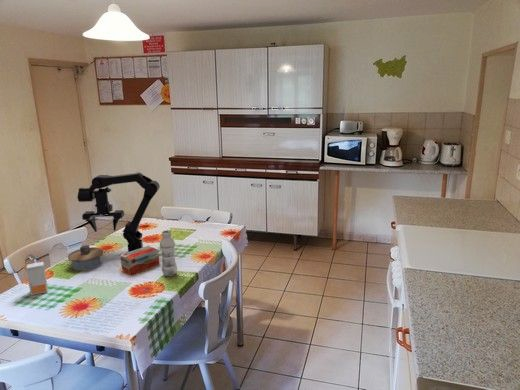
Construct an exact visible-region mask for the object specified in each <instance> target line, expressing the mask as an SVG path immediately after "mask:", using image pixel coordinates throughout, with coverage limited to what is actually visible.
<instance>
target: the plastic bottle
mask: <svg viewBox="0 0 520 390" xmlns="http://www.w3.org/2000/svg"><path fill="white" fill-rule="evenodd" d="M161 236H162V238H161V240H160V242H159V247H160V251H161V258H162V259H161V260H162V265H161V272H162V275H163V276H165V277H172V276H175V275H176V274H177V272H178V265H177V263H176V258H175V248H176V242H175V239H174V238H173V237H172V231H171V230H164V231H162V232H161Z"/></svg>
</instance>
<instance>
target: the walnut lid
mask: <svg viewBox="0 0 520 390" xmlns="http://www.w3.org/2000/svg"><path fill="white" fill-rule="evenodd" d="M103 253H104V252H103V249H102V248H100V247H90V244H87V245H81V246H80V248H79V249H76V250H74V251H71V252H70V253H69V254H67V259H68V261H70V262H72V261H74V262H82V261H88V260H92V259H95V258H97V257H99V256H100V257H101V256H102V255H103Z"/></svg>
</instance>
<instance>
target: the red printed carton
mask: <svg viewBox="0 0 520 390" xmlns="http://www.w3.org/2000/svg"><path fill="white" fill-rule="evenodd" d="M120 264H121V270H122V271H123V272H125V273H127V274H128V275H130V276H133V275H135V274H138V273H140V272H143V271H146V270H148V269H152V268H154V267H157V266H159V265H160V254H159V249H158V248H155V247H153V246H151V245H145V246H143V248H140V249H137V250H134V251H131V252H128V251H127V252H125V253H123V254H120Z"/></svg>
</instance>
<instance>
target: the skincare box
mask: <svg viewBox="0 0 520 390" xmlns="http://www.w3.org/2000/svg"><path fill="white" fill-rule="evenodd" d="M26 275H27V281H28V286H29V291H30V296H33V295H39V294H44V293H45V294H46V293H48V280H47V276H46V269H45V261H39V262H33V263H28V264H26Z"/></svg>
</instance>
